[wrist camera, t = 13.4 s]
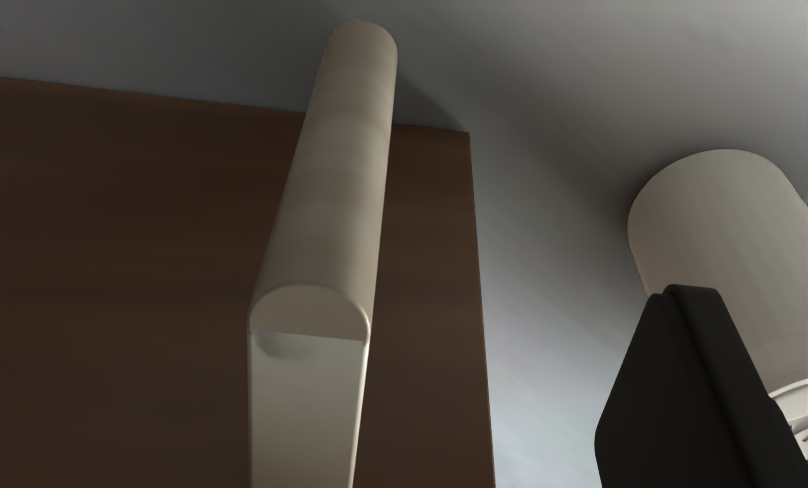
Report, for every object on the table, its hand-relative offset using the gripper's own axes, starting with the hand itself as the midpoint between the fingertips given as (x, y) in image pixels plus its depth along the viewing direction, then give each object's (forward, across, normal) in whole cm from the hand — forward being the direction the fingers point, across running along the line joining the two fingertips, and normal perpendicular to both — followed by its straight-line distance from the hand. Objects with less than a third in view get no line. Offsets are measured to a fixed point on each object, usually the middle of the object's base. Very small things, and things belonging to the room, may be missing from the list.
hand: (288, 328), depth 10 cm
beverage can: (+19, -14, +9) cm, 25 cm away
